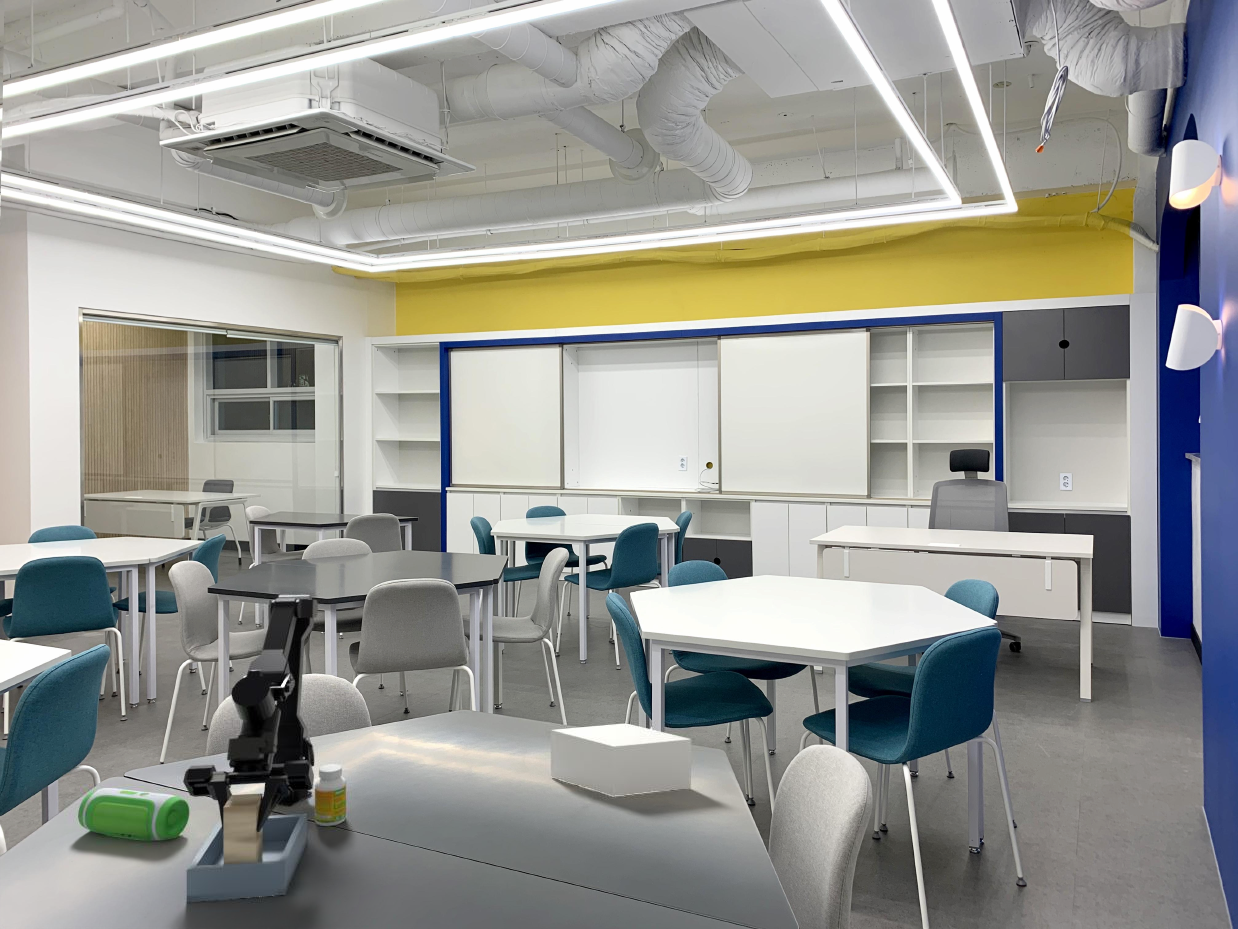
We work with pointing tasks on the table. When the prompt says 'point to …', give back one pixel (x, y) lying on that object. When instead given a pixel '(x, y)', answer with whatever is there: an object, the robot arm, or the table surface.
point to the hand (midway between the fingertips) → (241, 832)
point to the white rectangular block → (621, 759)
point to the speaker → (133, 814)
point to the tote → (253, 878)
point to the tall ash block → (242, 829)
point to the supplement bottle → (330, 796)
